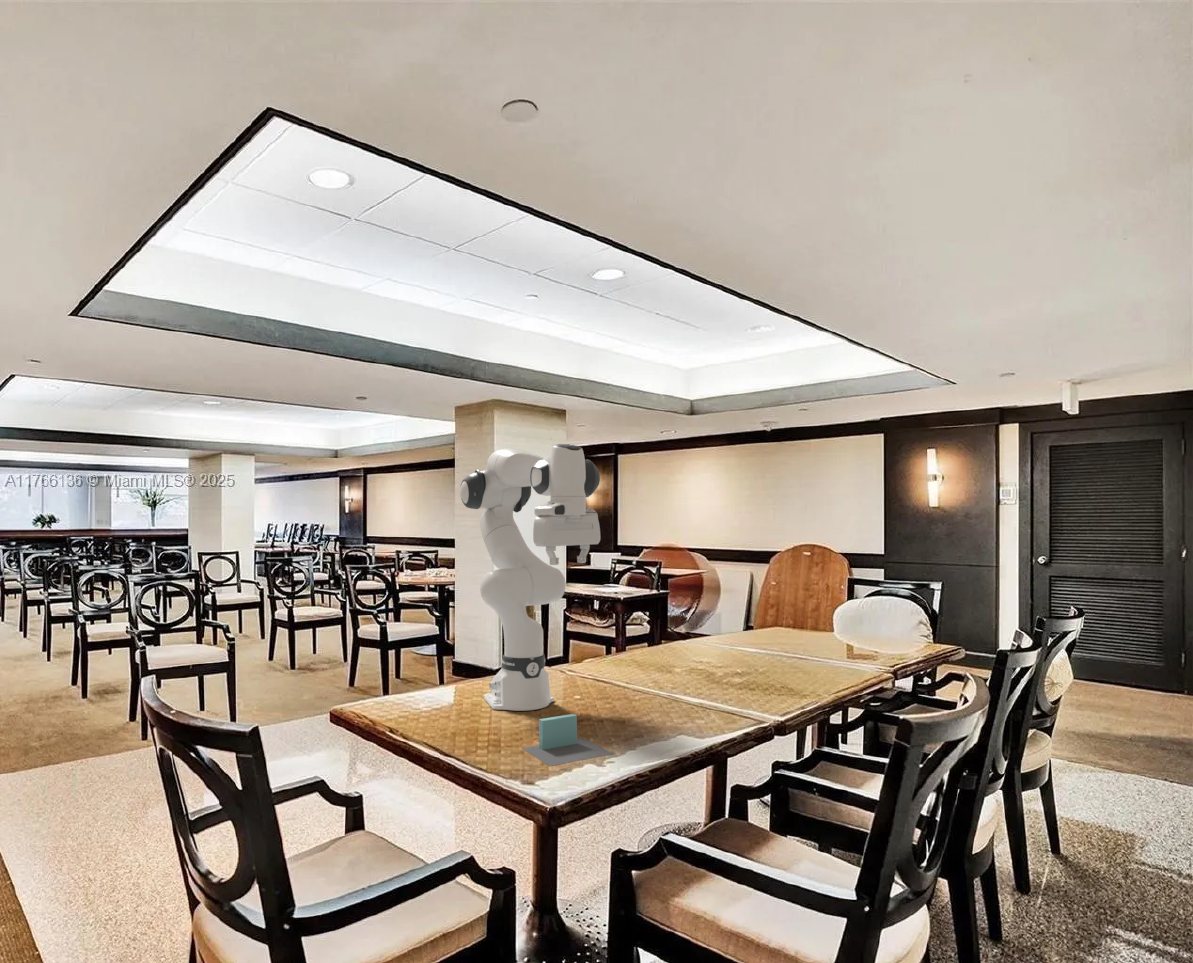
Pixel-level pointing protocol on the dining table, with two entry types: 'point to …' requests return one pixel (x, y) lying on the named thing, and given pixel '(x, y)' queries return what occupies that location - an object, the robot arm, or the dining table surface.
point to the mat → (568, 752)
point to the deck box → (557, 731)
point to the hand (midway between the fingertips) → (568, 563)
